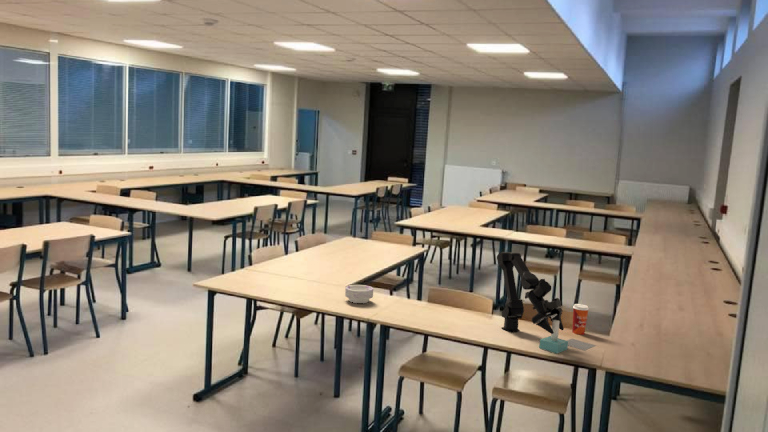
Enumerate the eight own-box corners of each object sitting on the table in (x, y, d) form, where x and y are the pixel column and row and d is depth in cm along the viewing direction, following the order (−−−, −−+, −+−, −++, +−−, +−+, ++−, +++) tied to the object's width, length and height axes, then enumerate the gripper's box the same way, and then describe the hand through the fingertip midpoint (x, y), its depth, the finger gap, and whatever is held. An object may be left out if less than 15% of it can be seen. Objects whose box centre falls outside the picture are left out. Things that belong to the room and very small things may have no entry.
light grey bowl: (340, 298, 339) (341, 284, 338) (365, 297, 345) (366, 283, 344) (350, 306, 325) (351, 291, 324) (377, 304, 332) (378, 290, 331)
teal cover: (539, 348, 276) (542, 320, 275) (549, 344, 283) (552, 316, 281) (557, 353, 270) (560, 325, 268) (567, 349, 277) (570, 321, 275)
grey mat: (559, 343, 284) (559, 343, 284) (572, 339, 293) (572, 338, 293) (584, 351, 276) (584, 350, 276) (596, 346, 285) (596, 345, 285)
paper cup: (575, 336, 299) (578, 307, 297) (567, 331, 306) (569, 303, 304) (589, 335, 301) (592, 307, 299) (580, 330, 308) (583, 303, 307)
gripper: (540, 295, 269) (560, 326, 263) (561, 289, 283) (581, 319, 277) (522, 308, 276) (542, 338, 269) (543, 302, 289) (563, 331, 283)
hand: (557, 331), depth 274 cm, fingers open, 9 cm apart
